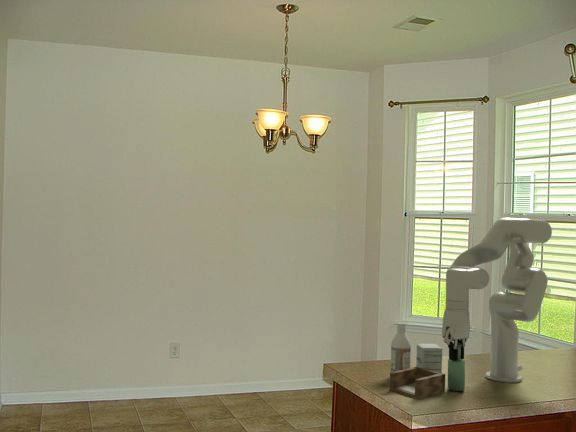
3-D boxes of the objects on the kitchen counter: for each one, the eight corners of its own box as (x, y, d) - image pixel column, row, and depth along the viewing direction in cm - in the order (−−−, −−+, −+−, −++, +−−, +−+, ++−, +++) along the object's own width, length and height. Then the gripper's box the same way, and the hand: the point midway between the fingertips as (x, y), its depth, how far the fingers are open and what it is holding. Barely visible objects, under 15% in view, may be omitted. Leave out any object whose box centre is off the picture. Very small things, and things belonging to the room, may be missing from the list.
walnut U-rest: (416, 383, 213) (416, 366, 213) (444, 392, 204) (445, 374, 204) (389, 390, 204) (390, 372, 204) (418, 399, 195) (419, 380, 195)
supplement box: (415, 378, 221) (416, 343, 221) (435, 378, 222) (436, 343, 222) (421, 383, 214) (422, 347, 214) (442, 383, 214) (443, 347, 214)
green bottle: (454, 384, 210) (454, 341, 210) (468, 388, 206) (468, 344, 206) (444, 387, 207) (444, 343, 206) (458, 391, 202) (458, 346, 202)
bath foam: (399, 381, 215) (401, 325, 215) (386, 377, 221) (387, 322, 221) (413, 379, 219) (415, 323, 219) (400, 375, 225) (401, 320, 225)
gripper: (461, 301, 214) (461, 353, 214) (433, 306, 204) (432, 360, 204) (480, 304, 208) (479, 357, 209) (452, 309, 198) (451, 365, 198)
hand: (456, 358), depth 206 cm, fingers closed on green bottle, 2 cm apart
